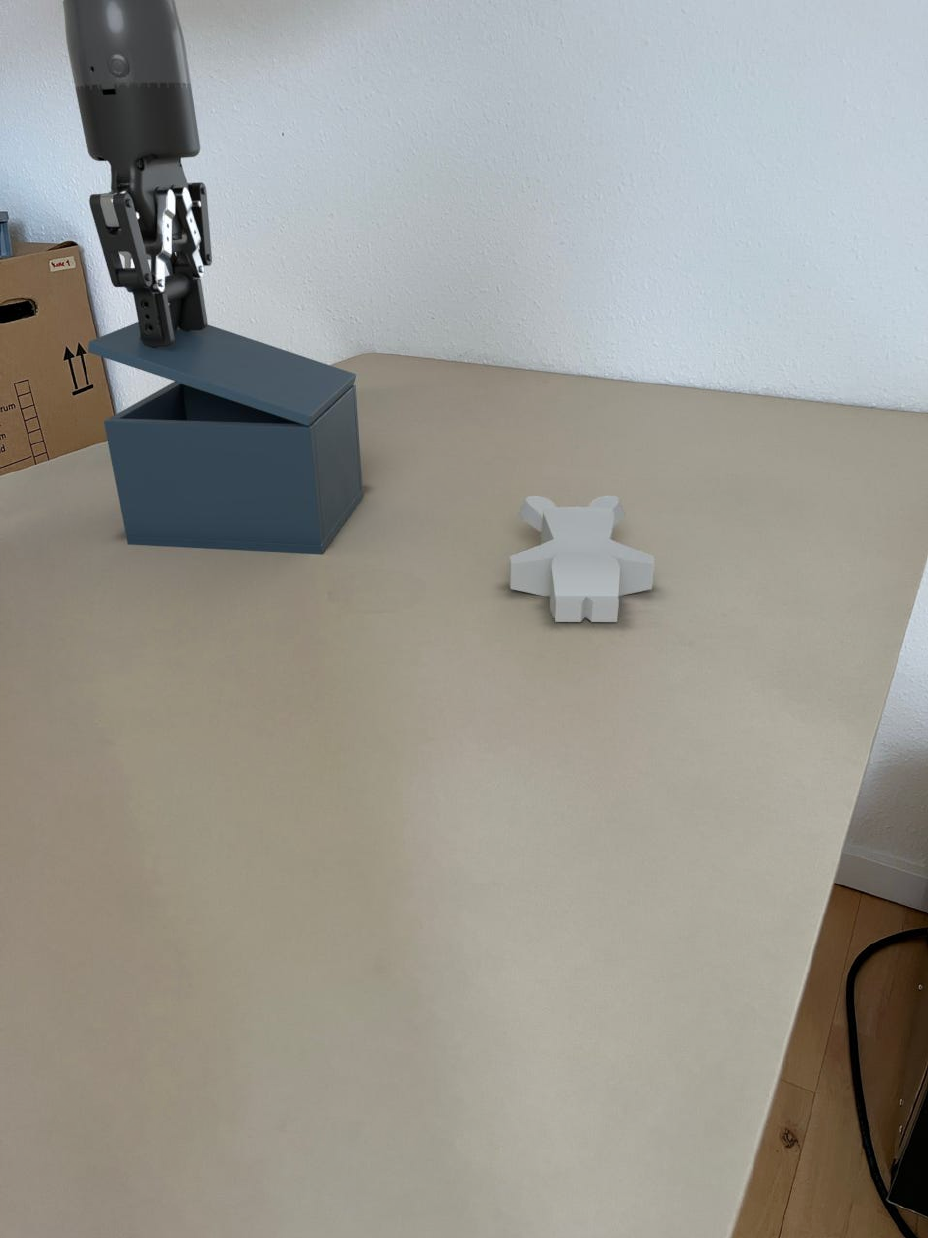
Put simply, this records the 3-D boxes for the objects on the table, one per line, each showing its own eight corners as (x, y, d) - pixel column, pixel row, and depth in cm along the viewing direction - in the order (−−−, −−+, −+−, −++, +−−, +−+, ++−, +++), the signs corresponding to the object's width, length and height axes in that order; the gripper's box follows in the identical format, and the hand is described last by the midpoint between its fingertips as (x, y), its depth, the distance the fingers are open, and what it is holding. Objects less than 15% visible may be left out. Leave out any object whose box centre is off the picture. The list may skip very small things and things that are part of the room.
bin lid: (87, 352, 66) (93, 280, 64) (164, 319, 77) (172, 257, 75) (308, 426, 66) (323, 358, 64) (354, 383, 77) (368, 323, 75)
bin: (127, 545, 73) (103, 420, 68) (193, 490, 84) (176, 379, 79) (321, 555, 71) (310, 427, 66) (363, 497, 82) (355, 384, 77)
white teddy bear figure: (510, 579, 57) (508, 471, 69) (509, 647, 60) (507, 532, 72) (667, 579, 57) (637, 471, 69) (659, 647, 60) (631, 532, 72)
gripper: (130, 86, 70) (170, 320, 78) (22, 78, 58) (83, 358, 65) (225, 82, 69) (257, 319, 77) (136, 72, 56) (185, 358, 64)
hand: (176, 336), depth 71 cm, fingers closed on bin lid, 5 cm apart
